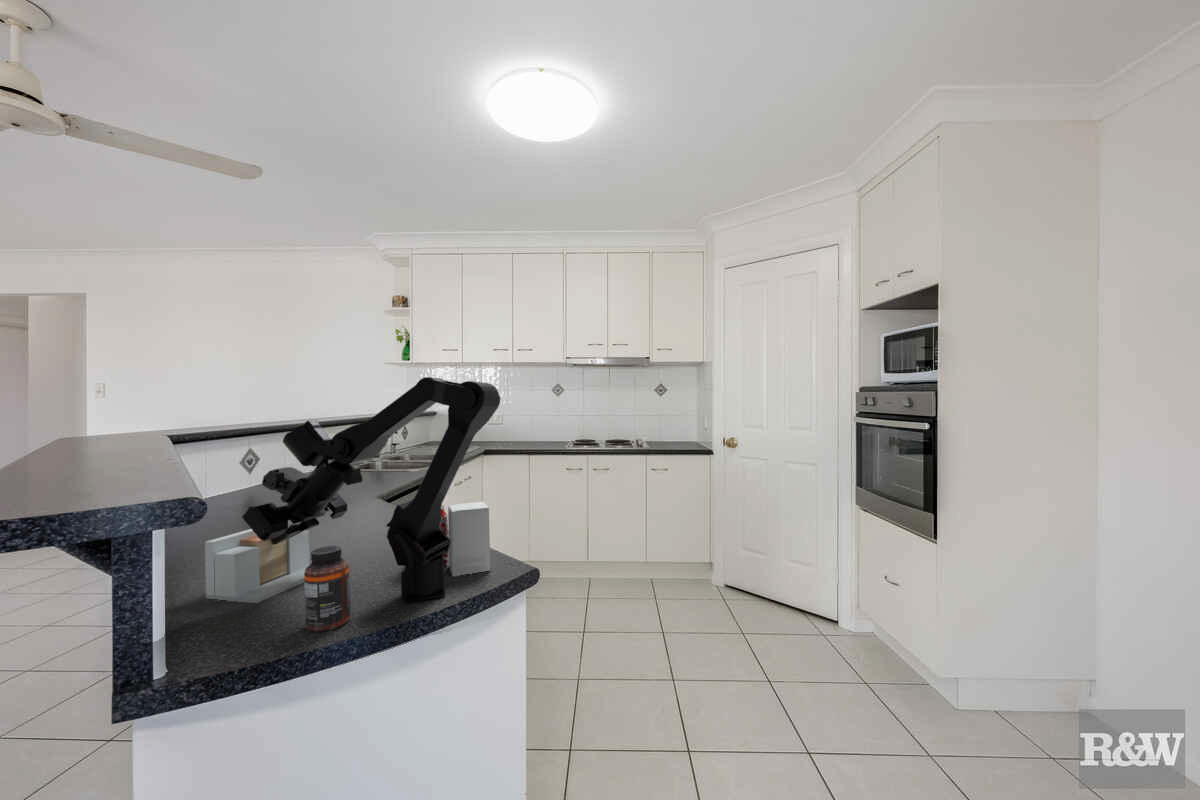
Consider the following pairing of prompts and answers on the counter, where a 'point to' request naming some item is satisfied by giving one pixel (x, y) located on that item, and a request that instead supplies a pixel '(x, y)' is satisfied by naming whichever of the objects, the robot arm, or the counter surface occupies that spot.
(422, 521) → the robot arm
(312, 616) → the supplement bottle
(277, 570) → the push block
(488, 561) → the supplement box
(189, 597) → the counter surface
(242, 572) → the mount
